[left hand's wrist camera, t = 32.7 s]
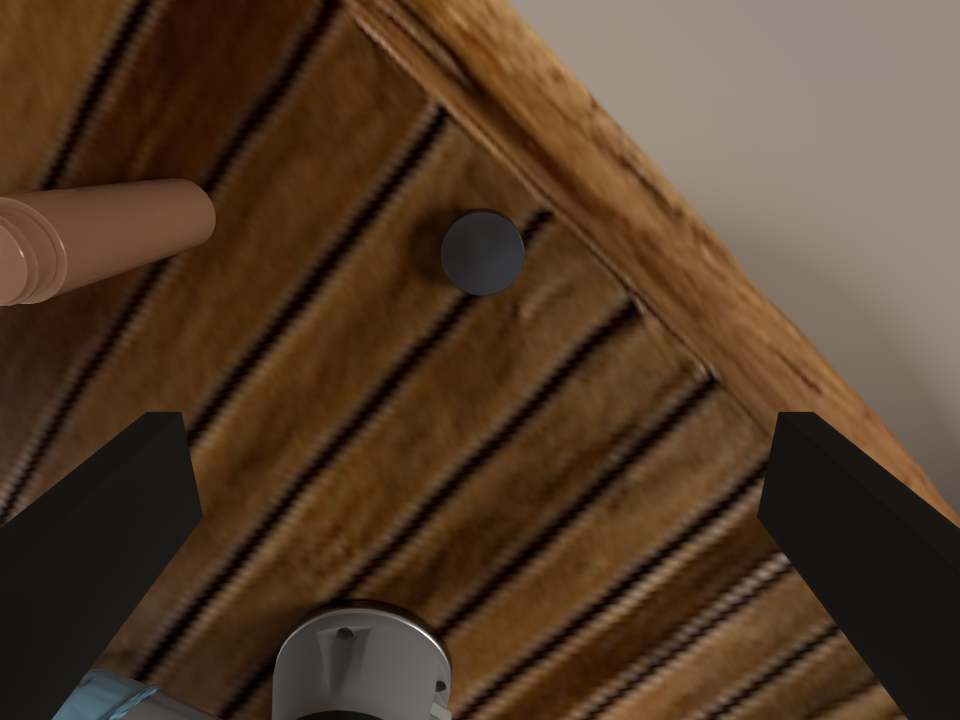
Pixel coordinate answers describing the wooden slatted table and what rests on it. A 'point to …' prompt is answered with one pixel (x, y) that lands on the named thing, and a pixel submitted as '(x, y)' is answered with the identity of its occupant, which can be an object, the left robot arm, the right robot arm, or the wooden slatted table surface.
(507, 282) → the lid
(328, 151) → the wooden slatted table surface
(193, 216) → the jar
